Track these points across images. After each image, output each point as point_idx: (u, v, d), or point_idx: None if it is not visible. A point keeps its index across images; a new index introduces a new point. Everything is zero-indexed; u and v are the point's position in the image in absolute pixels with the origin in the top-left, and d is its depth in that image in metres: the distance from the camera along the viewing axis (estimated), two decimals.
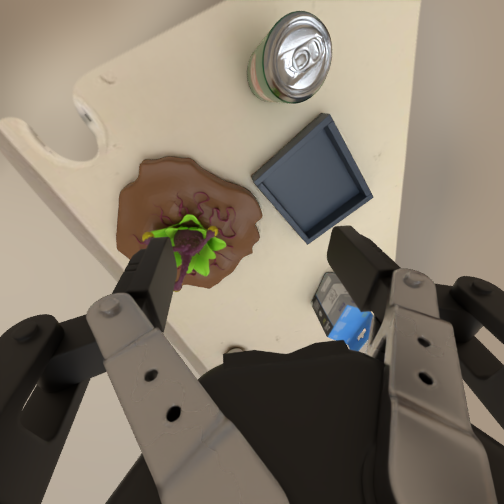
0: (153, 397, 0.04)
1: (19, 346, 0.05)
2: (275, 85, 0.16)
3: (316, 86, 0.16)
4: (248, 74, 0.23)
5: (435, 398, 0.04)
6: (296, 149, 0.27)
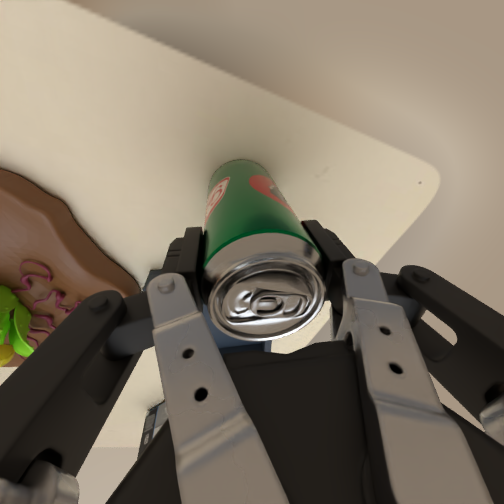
0: (186, 374, 0.04)
1: (91, 316, 0.06)
2: None
3: (267, 337, 0.09)
4: (212, 181, 0.15)
5: (435, 398, 0.04)
6: None
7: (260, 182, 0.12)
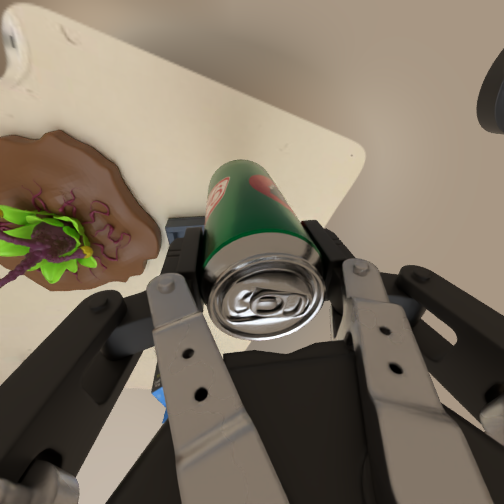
0: (186, 374, 0.04)
1: (91, 316, 0.06)
2: None
3: (267, 337, 0.09)
4: (212, 181, 0.15)
5: (435, 398, 0.04)
6: None
7: (260, 182, 0.12)
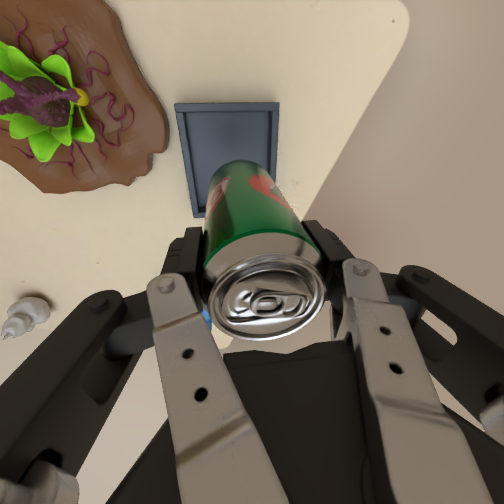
0: (186, 374, 0.04)
1: (91, 316, 0.06)
2: None
3: (267, 337, 0.09)
4: (212, 180, 0.15)
5: (435, 398, 0.04)
6: (234, 108, 0.25)
7: (260, 182, 0.12)
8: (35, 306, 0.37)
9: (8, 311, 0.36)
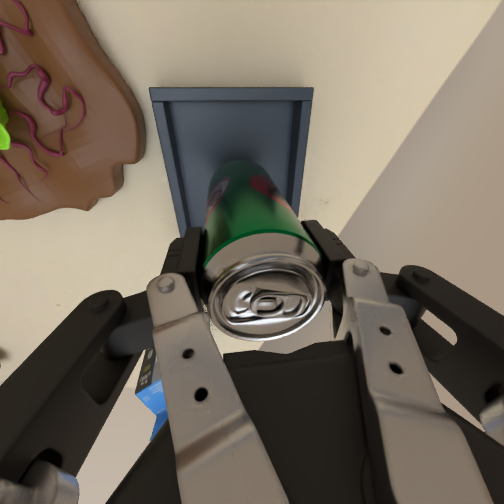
0: (186, 374, 0.04)
1: (91, 316, 0.06)
2: None
3: (267, 337, 0.09)
4: (212, 181, 0.15)
5: (435, 398, 0.04)
6: (244, 96, 0.16)
7: (260, 182, 0.12)
8: None
9: None
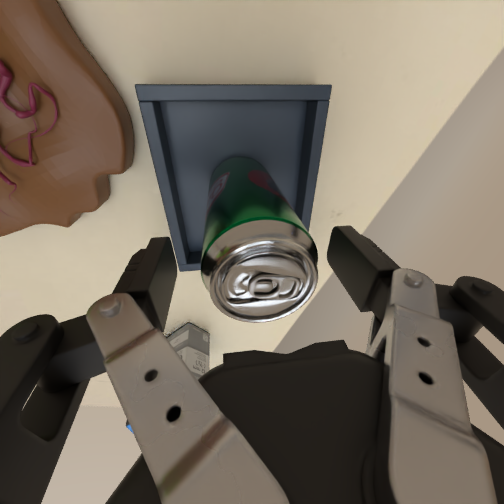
0: (153, 397, 0.04)
1: (19, 347, 0.05)
2: (209, 286, 0.09)
3: (264, 319, 0.10)
4: (213, 176, 0.16)
5: (435, 398, 0.04)
6: (249, 95, 0.13)
7: (258, 176, 0.13)
8: None
9: None
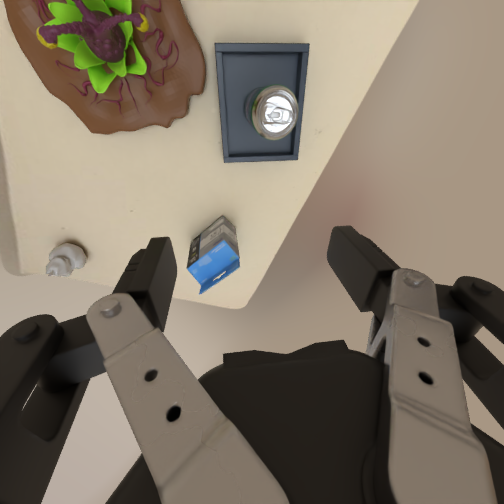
0: (153, 397, 0.04)
1: (19, 347, 0.05)
2: (255, 115, 0.23)
3: (276, 136, 0.24)
4: (247, 96, 0.30)
5: (435, 398, 0.04)
6: (268, 49, 0.27)
7: None
8: (74, 250, 0.40)
9: (50, 254, 0.40)
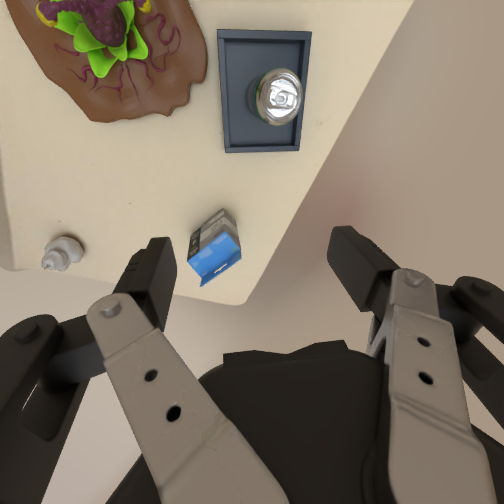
0: (153, 397, 0.04)
1: (19, 347, 0.05)
2: (259, 99, 0.23)
3: (280, 121, 0.24)
4: (249, 84, 0.30)
5: (435, 398, 0.04)
6: (271, 36, 0.27)
7: None
8: (71, 244, 0.39)
9: (46, 248, 0.39)
